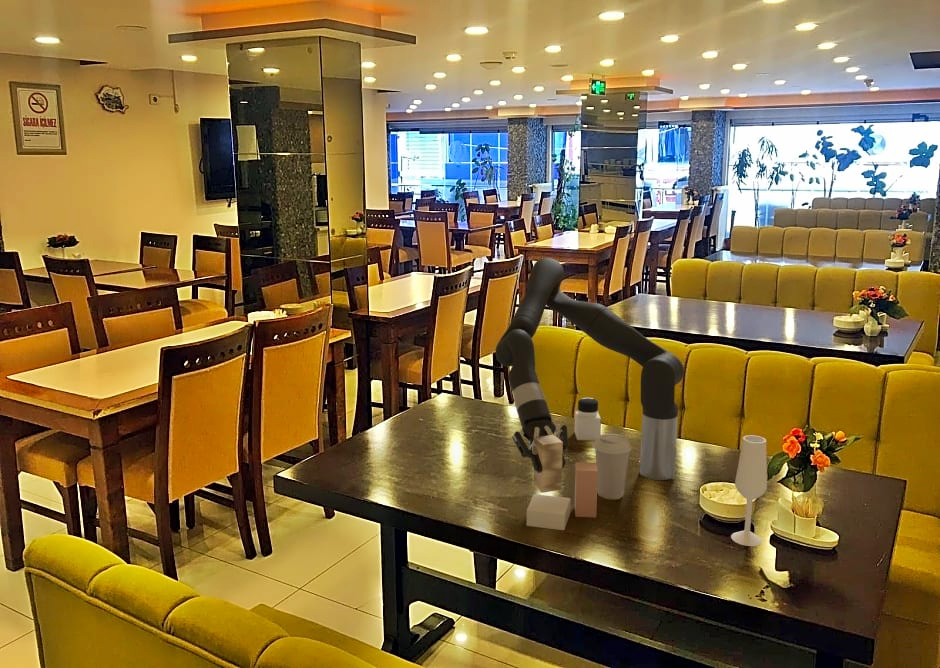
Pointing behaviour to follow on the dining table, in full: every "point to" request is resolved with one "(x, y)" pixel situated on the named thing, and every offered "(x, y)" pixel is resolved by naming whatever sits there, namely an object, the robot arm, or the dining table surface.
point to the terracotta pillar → (586, 489)
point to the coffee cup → (611, 464)
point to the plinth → (548, 512)
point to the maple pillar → (549, 463)
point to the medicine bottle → (587, 420)
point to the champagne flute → (751, 482)
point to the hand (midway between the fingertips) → (551, 469)
